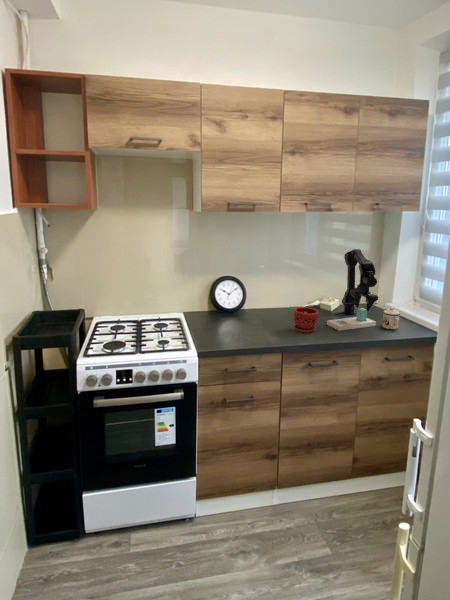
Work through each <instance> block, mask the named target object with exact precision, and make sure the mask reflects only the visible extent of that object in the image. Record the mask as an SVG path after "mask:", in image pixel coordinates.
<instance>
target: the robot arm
mask: <svg viewBox="0 0 450 600" xmlns="http://www.w3.org/2000/svg"><path fill="white" fill-rule="evenodd" d="M343 257H344V263H345V265H346V266H347V274H346V275H347V277H346V280H347V281H346V282H347V284H346V285H347V289H346V291H345V292H344V295H343V297H342V299H341V304H342V305H343V311H341V313H342V314H343V315H346V316H352V315H357V312H356V313H355V307H356V308H358V307H359V306H360V303H361V299H362V297H364V298H365V300H364V301H365V302H366V308H365V309H366V310H367V312H369V311H370V310H371V308H372V306H373V304H374V303H375V302H377V301H379V296H378V295H377V294H371V293H372V292H371V291H370V288H374V287H375V286H377V283H378V280H377V278H376V277H375V276H376V272H377V271H376V268H375V265H374V263H373V262H372V260H370V259H367V258H366V256H365V255H364V254H363V252H362V250H361V249H352V250H350V251H347V252H346V253H345V254H344V256H343ZM357 265H358V269H359V275H360V277H359V284H357V286H356V266H357Z"/></svg>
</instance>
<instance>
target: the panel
mask: <svg viewBox="0 0 450 600" xmlns="http://www.w3.org/2000/svg"><path fill="white" fill-rule="evenodd" d="M356 318H357V316H355V317H354V316H353V317H345V318H338V319H329V320H326V325H327V326H329V327H331V328H333V329H335V330H337V331H339V332H341V331H347V330H348V331H349V330H353V329H354V330H355V329H363V328H368V327H369V328H370V327H371V328H372V327H375V326H376V327H377V321H375V320H374V319H371V318H369V317H367V318H366V321H362V322H360V321H358V320H356Z"/></svg>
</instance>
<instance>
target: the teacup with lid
mask: <svg viewBox="0 0 450 600" xmlns="http://www.w3.org/2000/svg"><path fill="white" fill-rule="evenodd" d="M382 313H383V314H382V315H383V317H382V328H384V329H389V330H397V329H398V328H399V322H400V315H401V312H399V311H398V310H396V309H395V307H390V308H388V309H385V310H383V312H382Z"/></svg>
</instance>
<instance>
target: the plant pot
mask: <svg viewBox="0 0 450 600" xmlns="http://www.w3.org/2000/svg"><path fill="white" fill-rule="evenodd" d="M318 316H319V311H318V310H316V309H314V308H311V307H301V306H300V307H296V308H295V309H294V313H293V320H294V326H293V327H294V329H295V330H296V332H300V333H306V334H307V333H312V332H314V331H315V330H316V327H315V326H316V324H317V321H318V318H319V317H318Z"/></svg>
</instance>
